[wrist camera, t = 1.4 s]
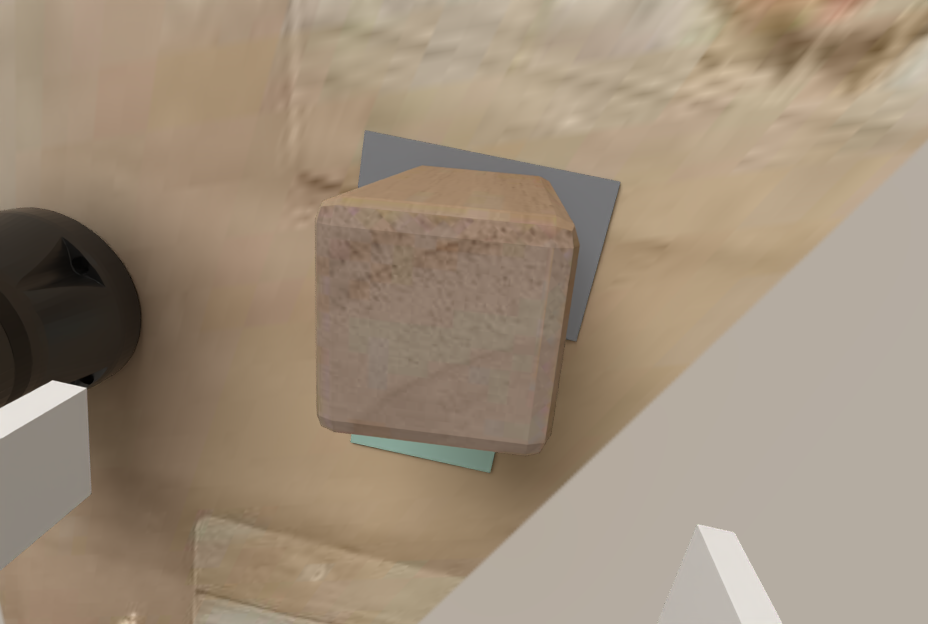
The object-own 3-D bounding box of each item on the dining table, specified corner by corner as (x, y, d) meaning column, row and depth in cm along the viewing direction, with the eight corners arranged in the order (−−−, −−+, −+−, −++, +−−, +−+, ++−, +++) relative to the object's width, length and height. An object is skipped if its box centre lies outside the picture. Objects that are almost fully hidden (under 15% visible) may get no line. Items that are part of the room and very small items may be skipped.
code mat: (346, 291, 42) (345, 292, 42) (366, 130, 38) (364, 130, 38) (575, 339, 42) (576, 341, 41) (619, 181, 38) (620, 182, 38)
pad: (351, 440, 46) (350, 442, 46) (369, 308, 43) (368, 310, 42) (490, 470, 46) (489, 472, 46) (521, 340, 42) (521, 342, 42)
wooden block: (535, 313, 41) (549, 469, 22) (403, 298, 42) (308, 438, 23) (553, 176, 38) (587, 222, 19) (410, 163, 38) (305, 195, 20)
